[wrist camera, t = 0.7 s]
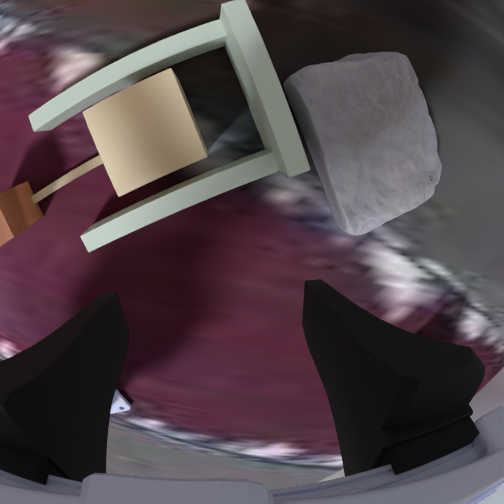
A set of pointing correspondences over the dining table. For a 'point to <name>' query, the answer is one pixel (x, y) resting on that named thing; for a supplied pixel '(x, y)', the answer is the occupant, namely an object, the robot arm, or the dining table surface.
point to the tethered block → (122, 146)
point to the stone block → (367, 136)
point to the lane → (256, 93)
